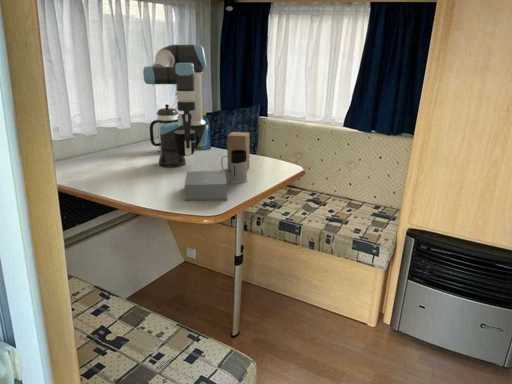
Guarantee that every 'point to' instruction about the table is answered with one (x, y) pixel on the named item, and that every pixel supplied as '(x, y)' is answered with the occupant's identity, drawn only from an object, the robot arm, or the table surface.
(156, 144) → the coffee press
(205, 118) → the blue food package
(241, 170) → the glass holder
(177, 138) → the mug
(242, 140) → the wooden block
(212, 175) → the large grey square box
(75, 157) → the table surface
